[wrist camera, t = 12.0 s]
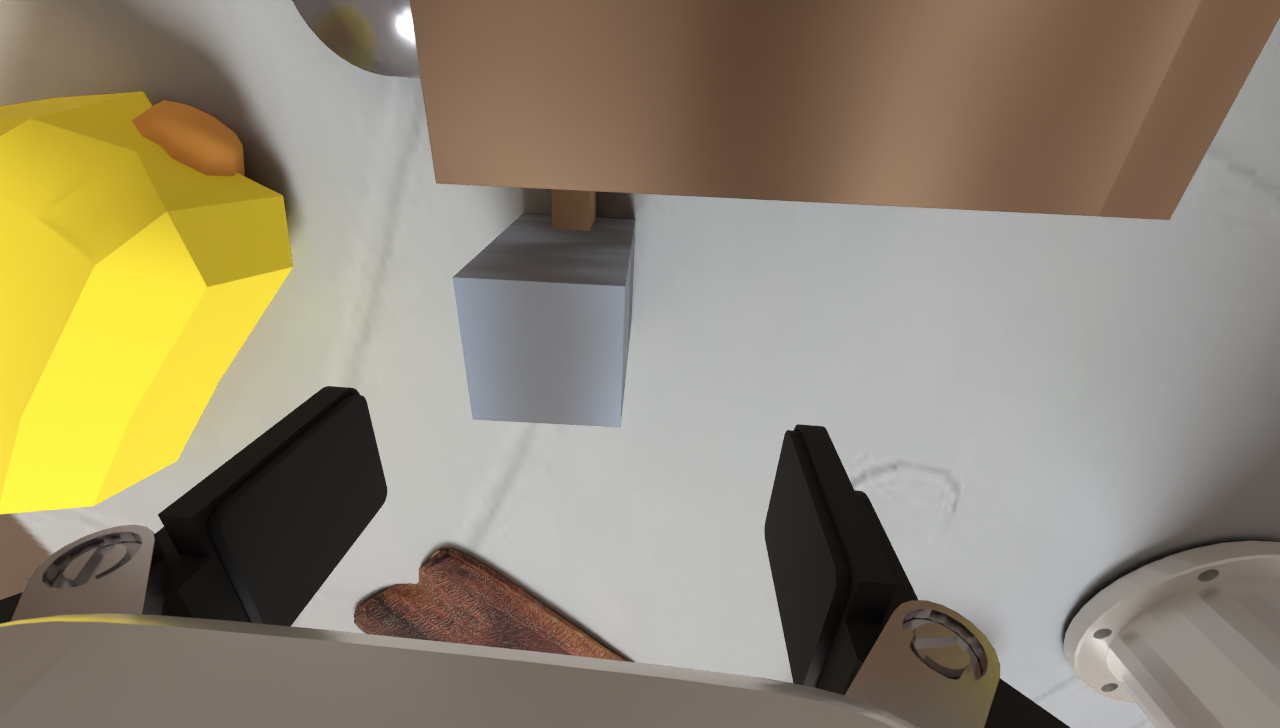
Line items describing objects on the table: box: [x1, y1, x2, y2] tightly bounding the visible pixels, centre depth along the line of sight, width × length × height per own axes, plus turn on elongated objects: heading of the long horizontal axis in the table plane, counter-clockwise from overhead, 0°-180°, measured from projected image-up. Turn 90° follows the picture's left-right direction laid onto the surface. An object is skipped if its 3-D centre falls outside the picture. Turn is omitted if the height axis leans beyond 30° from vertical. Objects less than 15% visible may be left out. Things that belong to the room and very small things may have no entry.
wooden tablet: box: [354, 548, 628, 662], centre depth 31 cm, size 26×2×10 cm
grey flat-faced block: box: [453, 189, 635, 427], centre depth 13 cm, size 4×13×7 cm, turn 177°
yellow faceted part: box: [0, 91, 293, 514], centre depth 17 cm, size 18×7×8 cm
